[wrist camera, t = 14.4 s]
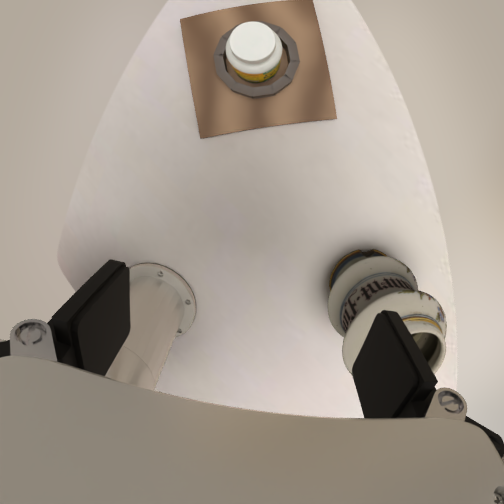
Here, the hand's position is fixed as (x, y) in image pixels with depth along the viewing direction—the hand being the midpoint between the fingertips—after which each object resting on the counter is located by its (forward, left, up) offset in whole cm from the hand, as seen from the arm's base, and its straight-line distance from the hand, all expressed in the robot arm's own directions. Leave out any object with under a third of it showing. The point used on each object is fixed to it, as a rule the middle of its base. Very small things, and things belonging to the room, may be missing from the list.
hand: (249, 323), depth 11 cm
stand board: (+2, +15, -28) cm, 32 cm away
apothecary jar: (+12, -15, -28) cm, 34 cm away
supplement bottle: (+2, +15, -27) cm, 31 cm away
